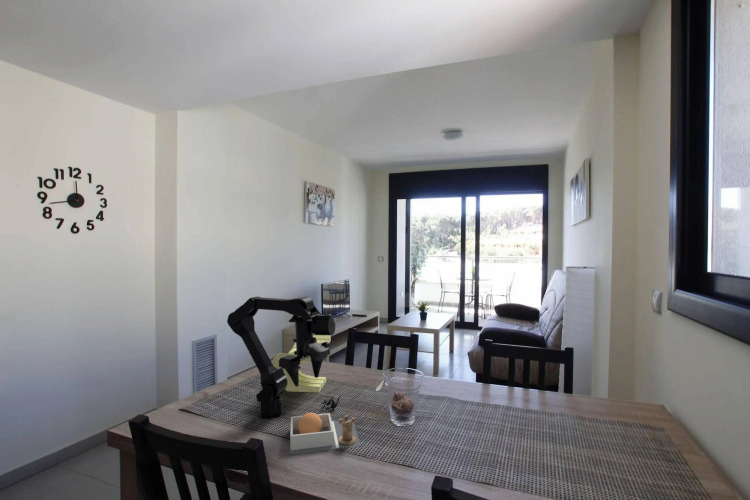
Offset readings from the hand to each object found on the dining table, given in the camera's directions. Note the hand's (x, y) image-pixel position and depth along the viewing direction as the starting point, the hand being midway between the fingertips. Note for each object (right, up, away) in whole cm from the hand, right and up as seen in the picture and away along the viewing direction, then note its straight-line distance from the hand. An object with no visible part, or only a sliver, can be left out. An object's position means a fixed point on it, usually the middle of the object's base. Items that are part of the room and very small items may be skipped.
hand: (306, 381), depth 123 cm
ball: (+3, -9, -12) cm, 15 cm away
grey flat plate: (+7, -13, -11) cm, 18 cm away
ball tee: (+15, -12, -14) cm, 24 cm away
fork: (+26, -13, +35) cm, 46 cm away
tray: (+4, -12, -12) cm, 18 cm away
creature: (+6, -13, +9) cm, 17 cm away
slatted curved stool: (-7, -13, +32) cm, 35 cm away
